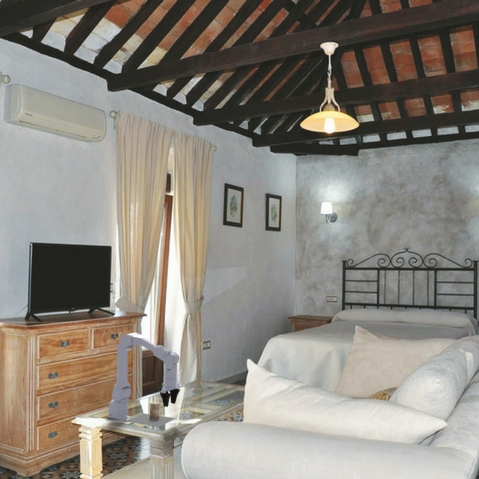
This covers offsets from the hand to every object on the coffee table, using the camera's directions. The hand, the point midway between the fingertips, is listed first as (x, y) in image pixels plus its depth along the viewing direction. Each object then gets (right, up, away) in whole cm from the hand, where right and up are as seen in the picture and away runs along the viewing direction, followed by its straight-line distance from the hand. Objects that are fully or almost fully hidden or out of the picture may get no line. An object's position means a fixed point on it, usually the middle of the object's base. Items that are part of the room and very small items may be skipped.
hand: (169, 404), depth 284 cm
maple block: (-9, -10, +12) cm, 18 cm away
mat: (-10, -10, +6) cm, 16 cm away
